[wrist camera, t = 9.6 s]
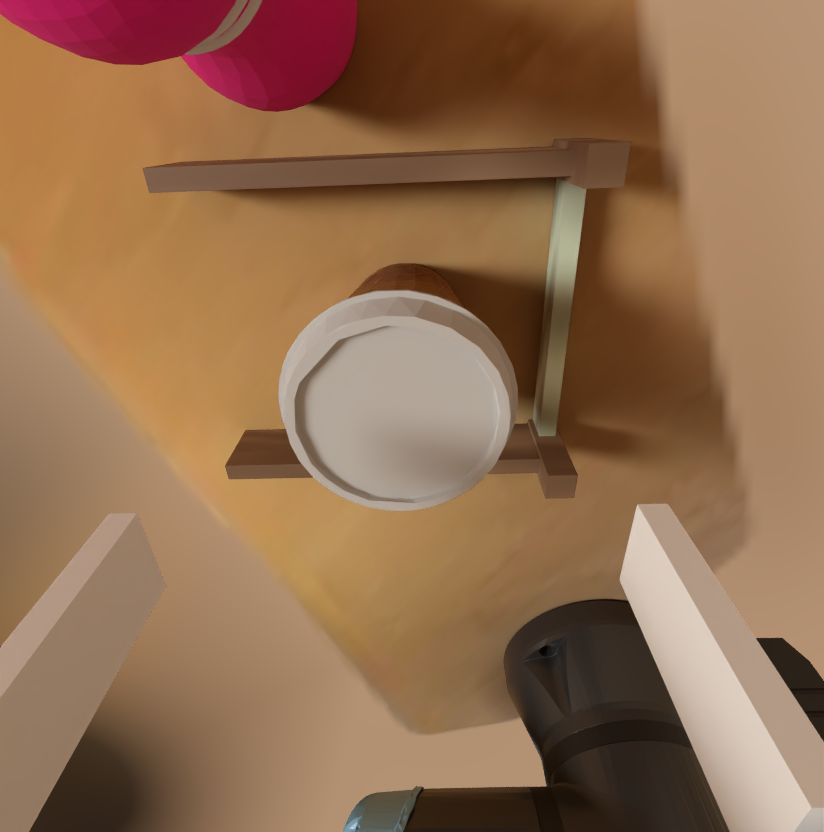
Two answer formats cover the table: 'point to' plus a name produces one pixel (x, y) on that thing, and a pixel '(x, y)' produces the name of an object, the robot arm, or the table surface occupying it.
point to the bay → (565, 160)
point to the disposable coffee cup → (398, 393)
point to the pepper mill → (209, 40)
